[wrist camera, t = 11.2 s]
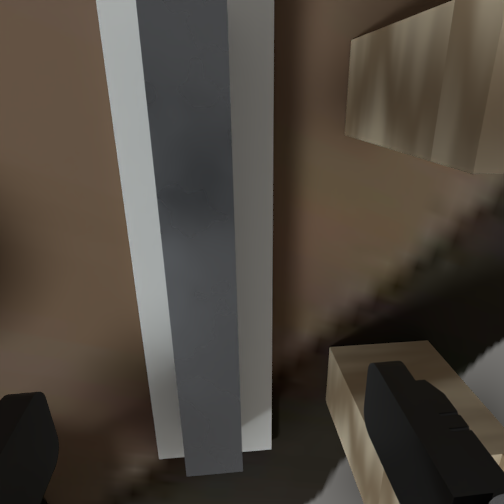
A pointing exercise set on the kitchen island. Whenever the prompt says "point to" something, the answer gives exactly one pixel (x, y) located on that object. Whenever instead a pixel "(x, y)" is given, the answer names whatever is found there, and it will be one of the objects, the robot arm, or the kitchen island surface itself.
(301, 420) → the kitchen island surface
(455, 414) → the robot arm
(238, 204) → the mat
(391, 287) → the kitchen island surface
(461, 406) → the post
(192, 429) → the rail
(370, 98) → the post
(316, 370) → the kitchen island surface
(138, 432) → the kitchen island surface
